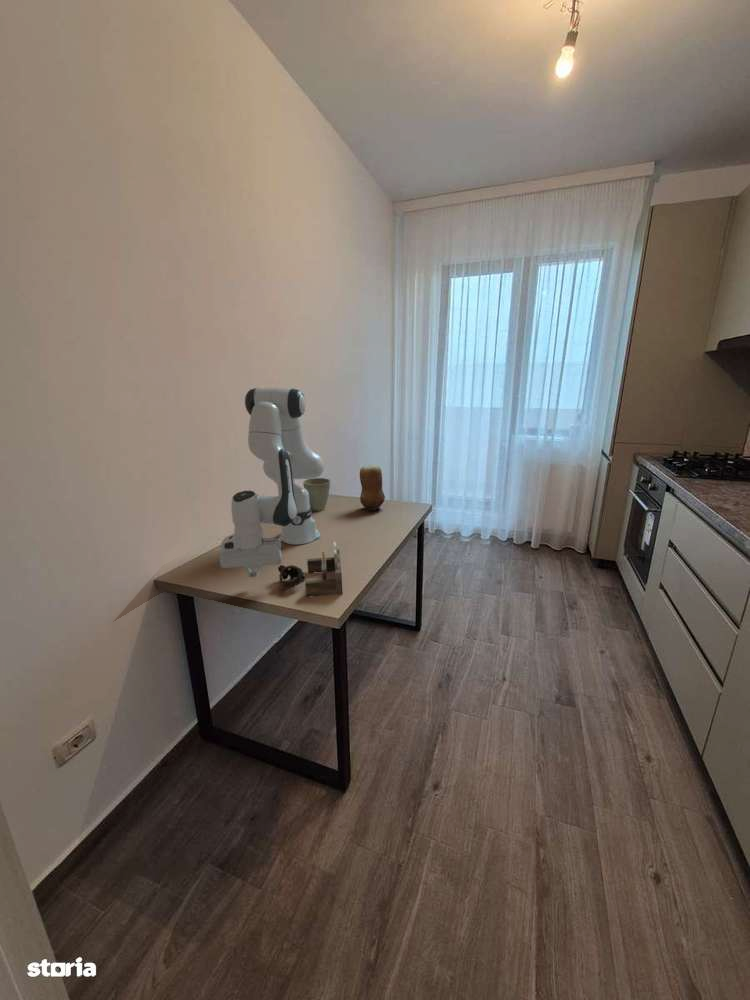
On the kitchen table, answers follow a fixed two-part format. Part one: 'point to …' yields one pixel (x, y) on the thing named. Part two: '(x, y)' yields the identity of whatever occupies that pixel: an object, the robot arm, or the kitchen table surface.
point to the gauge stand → (325, 585)
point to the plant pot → (317, 492)
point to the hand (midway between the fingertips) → (253, 576)
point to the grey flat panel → (324, 567)
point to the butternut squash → (371, 487)
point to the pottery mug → (293, 573)
